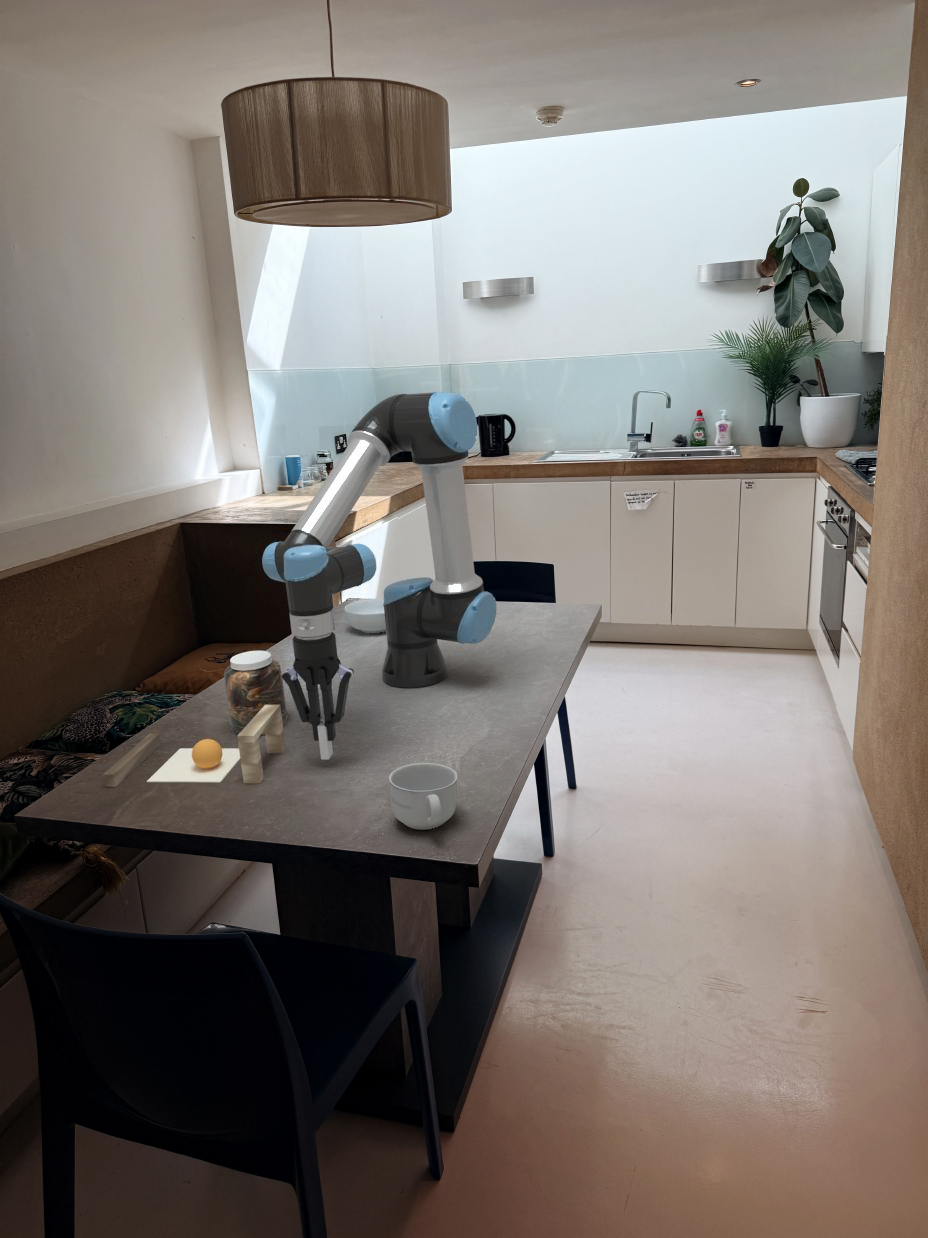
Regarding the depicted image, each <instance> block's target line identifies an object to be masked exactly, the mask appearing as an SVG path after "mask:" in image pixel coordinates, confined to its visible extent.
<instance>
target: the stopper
mask: <svg viewBox="0 0 928 1238" xmlns="http://www.w3.org/2000/svg"><path fill="white" fill-rule="evenodd" d="M161 745H162V743H161V738H160V733H148V734H147V735H146V736H145V737H144V738H142V740H140V741H139V742H138V743H137V744H135V746H134V747H133V748H131V749H130V750H129V751H128V752H127V753H125V755H124V756H122V757H120V759H119V760H118V761H117V762H115V763H114V764H113V765H112V766H111V767H110V768H108V770H106V771H105V772H104V773H102V777H103V781H104V787H105V788H116V787H117V786H119V785H120V784H121V783H122V782H123V781H124V780H126V779H127V777H129V775H130V774H131V773H133V772H134V771H135V770H136V769H137V768H138V767H139V766H140V765H141V764H142V763H144V762H145V760H147V759H148V758H149V757H150V756H151V755H152V754H153V753H154V752H155V751H156V750H157V749H158V748H159V747H161Z"/></svg>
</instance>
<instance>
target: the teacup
mask: <svg viewBox="0 0 928 1238" xmlns="http://www.w3.org/2000/svg"><path fill="white" fill-rule="evenodd" d="M458 779H459V777H458V773H457V771H456V770H454V768H452V767H450V766H447V765H444V764H441V763H435V762H416V763H415V762H414V763H410V764H409V763H408V764H406V765H402V766H399V767H397V768H396V769H394V770H393V771H391V773H390V774H389V776H388V782H389V794H390V795H389V796H390V807H391V810H392V813H393V816H394V817H395V819H397V820H398V821H399V822H401V823H403V824H404V825H405V826H406V827H408V828H411V829H414V830H420V831H421V830H422V831H423V830H424V831H425V830H432V828H433V829H436V828H438V826H439V827H440V826H442V825H444V824H445V823H446V822H447V821H448V820H449V819H451V817H452V816H453V815H454V813H455V811H456V808H457V802H458V801H457V799H458V798H457V797H458ZM435 827H436V828H435Z"/></svg>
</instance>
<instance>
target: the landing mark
mask: <svg viewBox="0 0 928 1238" xmlns="http://www.w3.org/2000/svg"><path fill="white" fill-rule="evenodd" d="M193 748H194V747H192V748H191V747H190V748H186V747H185V748H179V749H178V750H177V751H176V752H175V753H174V754H173V755H172V756H171V757H169V758H168V759H167V761H166V762H164V764H163V765H161V767H160V768H158V770H157V771H155V773H153V774H152V775H151V777H149V779H147V780H146V783H210V784H211V783H214V784H216V783H221V782H222V781H223V780H224V779H225V778H226V776H227V775H228V774H229V773H230V772H231V771H232V769H234V767H235V766H236V765H237V763H238V762H240V761H241V760H240V752H239V747H238V748H225V747H224V748H222V747H221V748H222V753H223V754H222V759H221V761H220V762H219V764H218V765H216V766H215V767H213V768H210V769H203V768H200V767H198V766H197V765H196V764H195V763H194V761H193V759H192V750H193Z"/></svg>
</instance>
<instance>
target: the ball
mask: <svg viewBox="0 0 928 1238" xmlns="http://www.w3.org/2000/svg"><path fill="white" fill-rule="evenodd" d="M192 748H193V750H192V759H193V761H194V763H195V764H196V765H197V766H198V767H200V768H203V769H210V768H213V767H215V766H216V765H218V764H219V762H220V761H221V759H222V754H223V753H222V746H221V745H220V743H219V742H217V741H216V740H214V739H212V738H204V739H201V740H199V741H197V743H196V744H195V745H194V746H193V747H192Z"/></svg>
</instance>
